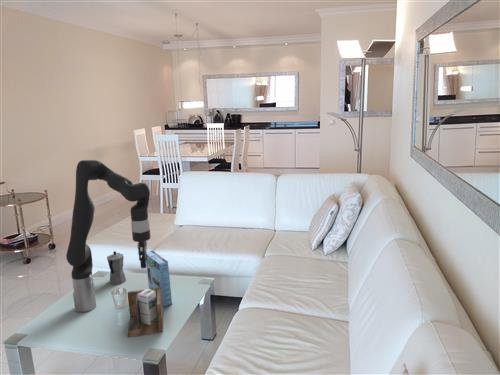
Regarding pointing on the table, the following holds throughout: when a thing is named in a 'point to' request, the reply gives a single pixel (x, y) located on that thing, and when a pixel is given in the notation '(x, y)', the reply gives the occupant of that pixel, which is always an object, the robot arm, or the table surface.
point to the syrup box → (148, 306)
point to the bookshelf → (135, 320)
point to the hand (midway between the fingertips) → (144, 264)
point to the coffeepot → (116, 268)
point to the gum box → (159, 276)
